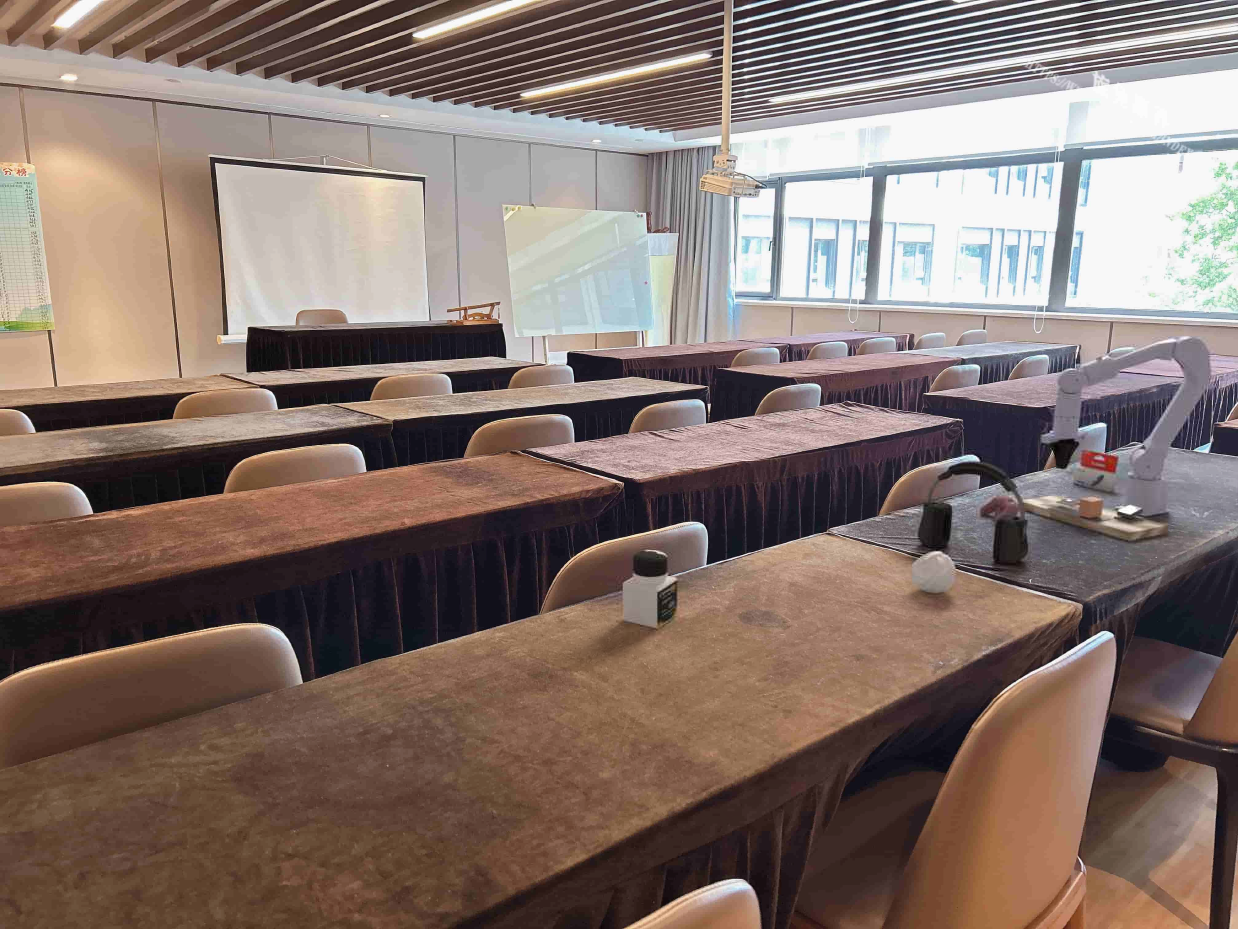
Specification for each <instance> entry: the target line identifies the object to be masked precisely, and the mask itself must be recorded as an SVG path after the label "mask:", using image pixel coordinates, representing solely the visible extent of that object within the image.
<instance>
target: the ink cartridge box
mask: <svg viewBox="0 0 1238 929" xmlns="http://www.w3.org/2000/svg"><path fill="white" fill-rule="evenodd" d="M1081 450H1082V451H1081V457H1080V465H1075V466H1074V472H1073V484H1074V483H1075V484H1074V485H1078V484H1079V485H1080V486H1082V485H1083V487H1087V488H1091V487H1092V488H1091V489H1096V490H1099V491H1104V492H1107V491H1108V492H1107V493H1110V491H1111V492H1114V491H1115V488H1116V477H1117V467H1118V463H1119V462H1118V461H1119V456H1116V455H1111V454H1106V453H1101V452H1097V451H1092V450H1087V449H1081ZM1098 456H1100V457H1101V458H1103V459H1104V460H1102V459H1097V458H1095V457H1098Z"/></svg>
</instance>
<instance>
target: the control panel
mask: <svg viewBox="0 0 1238 929" xmlns="http://www.w3.org/2000/svg"><path fill="white" fill-rule="evenodd" d="M1062 498H1065V497H1063V496H1059V495H1056V494H1053V495H1047V496H1042V497H1041V496H1040V497H1035V498H1029V499H1022V501H1023V503H1024V508H1025V510H1026V511H1025V512H1029V511H1030V512H1029V513H1032V512H1033V513H1032V514H1037V515H1039V514H1040V515H1039V516H1042V515H1044V516H1043V517H1046V516H1047V518H1049V517H1050V518H1049V519H1053V518H1054V519H1053V520H1056V519H1057V520H1056V521H1059V520H1060V522H1063V523H1066V522H1067V523H1066V524H1069V523H1070V524H1071V525H1074V526H1077V527H1080V526H1081V527H1080V528H1083V529H1086V528H1087V530H1090V531H1093V530H1094V532H1097V533H1100V532H1101V533H1100V534H1105V535H1108V536H1110V537H1114V538H1117V539H1120V538H1121V539H1122V540H1124V541H1127V540H1128V542H1131V540H1132V541H1136V539H1137V540H1140V539H1139V538H1142V539H1146V538H1145V537H1147V538H1150V536H1152V537H1156V536H1155V535H1158V536H1161V535H1160V534H1163V535H1166V534H1167V535H1168V530H1169V525H1168V524H1165V523H1161V522H1158V521H1154V520H1149V519H1146V518H1145V517H1144V516H1140V515H1137V516H1135V517H1133V518H1130V519H1129V518H1126V517H1122V516H1118V515H1117V511H1118V510H1113V509H1110V508H1105V507H1102V515H1101V516H1099V517H1093V518H1087V517H1084V516H1080V515H1078V512H1079V503H1080V500H1078V505H1077V506H1067V505H1064V504H1060V503H1061V499H1062ZM1017 503H1018V502H1017ZM1017 505H1018V506H1019V503H1018V504H1017ZM1019 510H1020V506H1019ZM1070 524H1069V525H1070Z"/></svg>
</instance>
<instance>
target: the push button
mask: <svg viewBox="0 0 1238 929" xmlns="http://www.w3.org/2000/svg"><path fill="white" fill-rule="evenodd" d="M1078 501H1079V500H1078V499H1074V498H1068V497H1064V498H1062V499H1061V503H1060V504H1064V505H1067V506H1077V505H1078Z"/></svg>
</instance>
